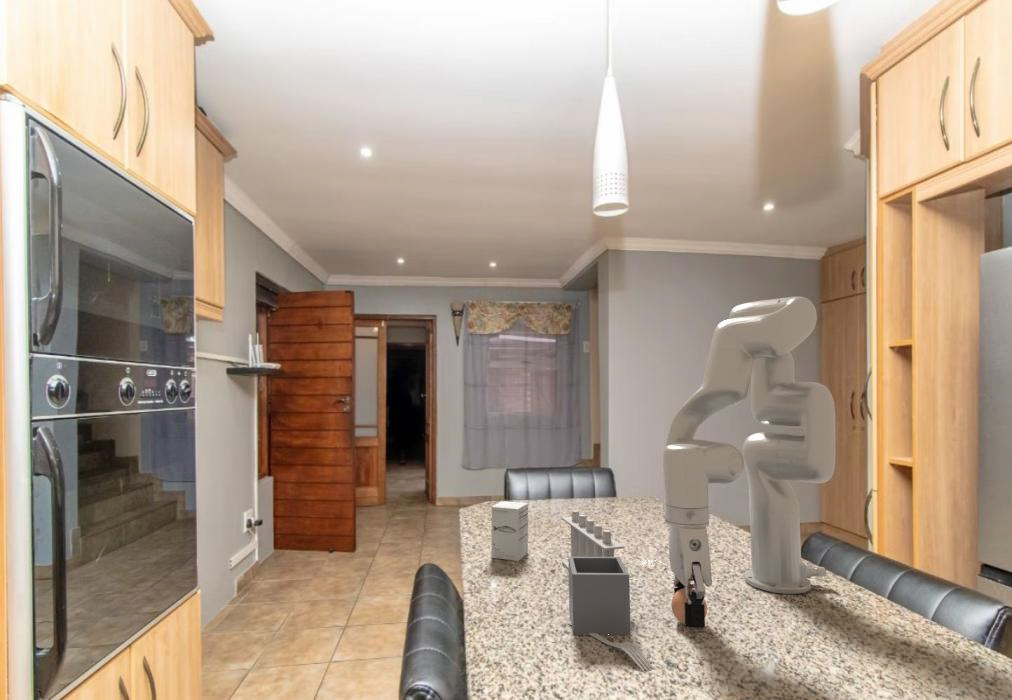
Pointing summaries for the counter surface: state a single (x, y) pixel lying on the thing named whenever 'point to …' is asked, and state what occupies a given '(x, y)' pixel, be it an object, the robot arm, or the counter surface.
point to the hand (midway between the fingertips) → (689, 617)
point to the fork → (627, 648)
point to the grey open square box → (599, 596)
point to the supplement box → (509, 530)
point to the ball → (681, 604)
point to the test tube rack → (589, 538)
